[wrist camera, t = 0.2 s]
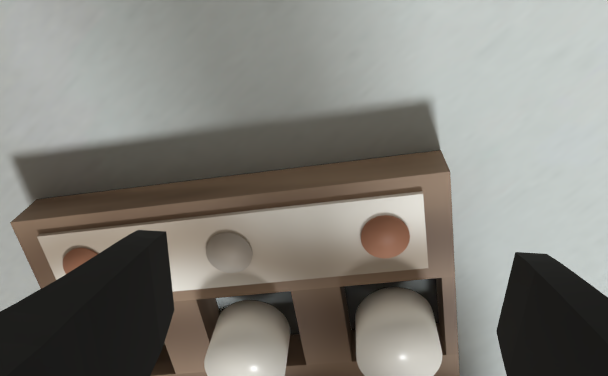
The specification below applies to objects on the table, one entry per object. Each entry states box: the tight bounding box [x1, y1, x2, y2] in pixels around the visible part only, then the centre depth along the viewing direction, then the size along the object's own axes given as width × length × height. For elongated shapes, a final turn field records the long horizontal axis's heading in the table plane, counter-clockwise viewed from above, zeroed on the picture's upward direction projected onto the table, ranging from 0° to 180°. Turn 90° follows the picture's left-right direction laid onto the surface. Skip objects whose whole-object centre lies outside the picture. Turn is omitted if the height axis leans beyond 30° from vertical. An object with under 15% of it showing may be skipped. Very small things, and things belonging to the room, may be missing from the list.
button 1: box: [355, 287, 442, 376], centre depth 21 cm, size 3×3×2 cm
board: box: [10, 150, 460, 376], centre depth 23 cm, size 13×17×2 cm
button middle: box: [204, 300, 290, 376], centre depth 21 cm, size 3×3×2 cm
